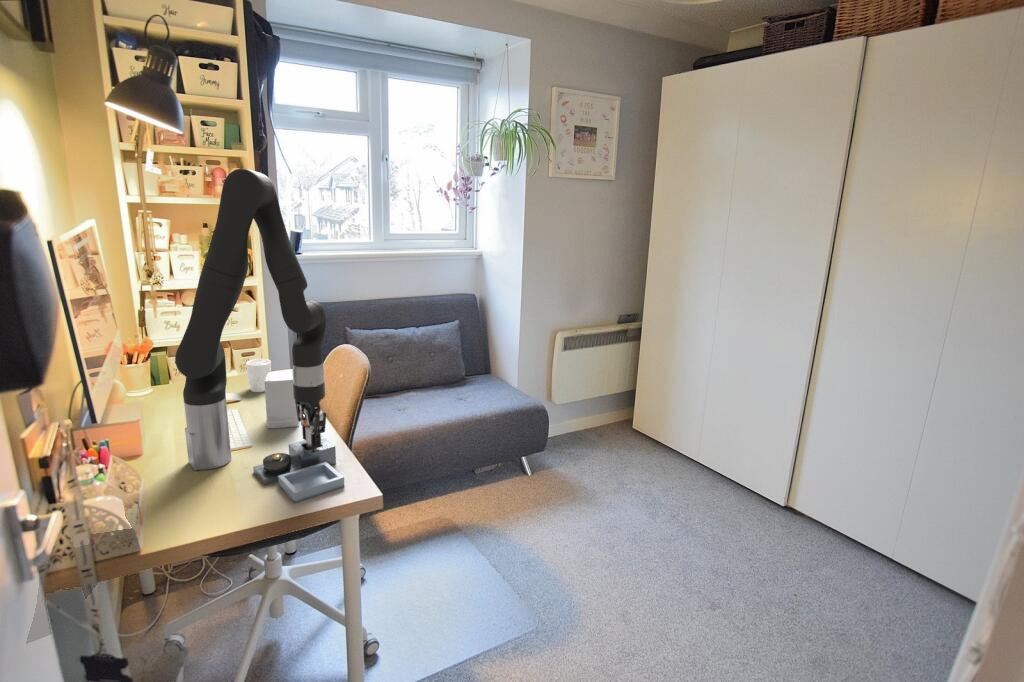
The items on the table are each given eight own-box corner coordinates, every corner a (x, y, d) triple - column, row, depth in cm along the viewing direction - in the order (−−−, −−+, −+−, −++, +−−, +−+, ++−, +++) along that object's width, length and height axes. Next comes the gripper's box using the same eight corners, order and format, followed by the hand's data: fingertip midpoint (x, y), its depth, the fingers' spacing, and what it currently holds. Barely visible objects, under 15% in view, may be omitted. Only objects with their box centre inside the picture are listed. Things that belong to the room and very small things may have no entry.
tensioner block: (265, 485, 132) (263, 466, 131) (253, 472, 138) (252, 454, 136) (336, 463, 144) (335, 446, 143) (322, 452, 150) (322, 435, 148)
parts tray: (295, 503, 125) (294, 493, 125) (278, 485, 132) (278, 475, 132) (344, 486, 133) (344, 477, 132) (326, 470, 140) (326, 461, 140)
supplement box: (299, 427, 165) (296, 379, 161) (266, 429, 162) (263, 381, 158) (301, 415, 173) (299, 370, 169) (270, 417, 170) (267, 371, 167)
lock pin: (308, 467, 141) (306, 423, 138) (302, 462, 144) (300, 419, 141) (322, 463, 144) (321, 420, 141) (316, 458, 146) (314, 415, 143)
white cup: (268, 383, 199) (266, 357, 196) (276, 390, 193) (274, 362, 191) (244, 388, 194) (242, 361, 191) (252, 394, 188) (250, 366, 186)
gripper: (282, 375, 141) (286, 436, 145) (305, 391, 130) (309, 456, 135) (311, 370, 145) (314, 429, 150) (335, 385, 135) (338, 448, 140)
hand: (311, 442), depth 142 cm, fingers open, 5 cm apart
